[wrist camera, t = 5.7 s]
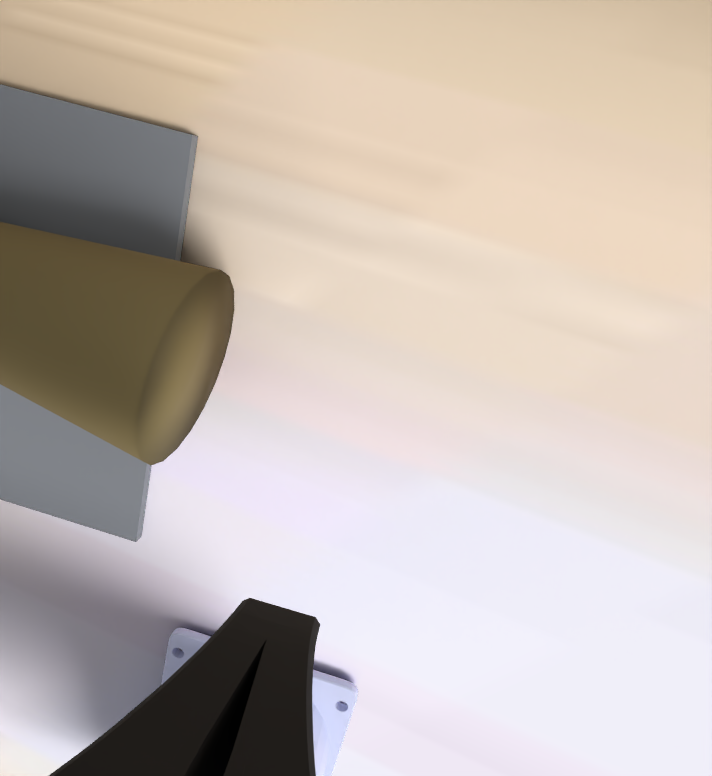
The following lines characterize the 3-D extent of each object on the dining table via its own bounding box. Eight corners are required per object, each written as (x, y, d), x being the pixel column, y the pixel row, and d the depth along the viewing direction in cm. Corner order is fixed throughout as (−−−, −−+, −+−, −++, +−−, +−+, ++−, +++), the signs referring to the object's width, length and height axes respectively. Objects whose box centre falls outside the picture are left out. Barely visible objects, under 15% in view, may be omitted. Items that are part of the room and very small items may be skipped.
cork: (229, 370, 21) (-41, 271, 22) (239, 231, 17) (-101, 109, 17) (142, 503, 17) (-190, 376, 18) (125, 364, 13) (-318, 199, 13)
